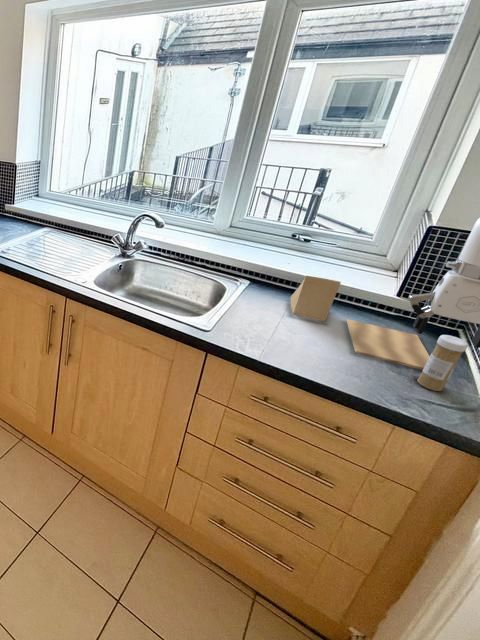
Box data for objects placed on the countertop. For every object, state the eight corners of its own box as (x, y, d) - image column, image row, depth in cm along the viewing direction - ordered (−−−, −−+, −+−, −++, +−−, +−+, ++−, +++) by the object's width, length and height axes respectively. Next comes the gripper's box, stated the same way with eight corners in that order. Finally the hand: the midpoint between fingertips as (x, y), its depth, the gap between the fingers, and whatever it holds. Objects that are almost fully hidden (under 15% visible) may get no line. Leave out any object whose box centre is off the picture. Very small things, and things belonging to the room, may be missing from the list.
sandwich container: (319, 304, 143) (334, 264, 137) (324, 325, 131) (341, 282, 125) (288, 298, 147) (302, 258, 141) (291, 317, 135) (306, 275, 129)
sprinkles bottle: (447, 390, 101) (474, 343, 96) (433, 393, 100) (459, 346, 95) (424, 378, 105) (449, 332, 100) (411, 380, 104) (435, 335, 99)
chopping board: (415, 339, 123) (417, 334, 123) (436, 376, 106) (438, 371, 106) (344, 323, 132) (346, 318, 131) (354, 355, 115) (355, 350, 115)
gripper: (429, 267, 95) (399, 332, 101) (548, 287, 85) (507, 358, 92) (420, 258, 100) (393, 320, 107) (531, 276, 91) (494, 343, 97)
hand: (446, 338), depth 99 cm, fingers open, 9 cm apart
